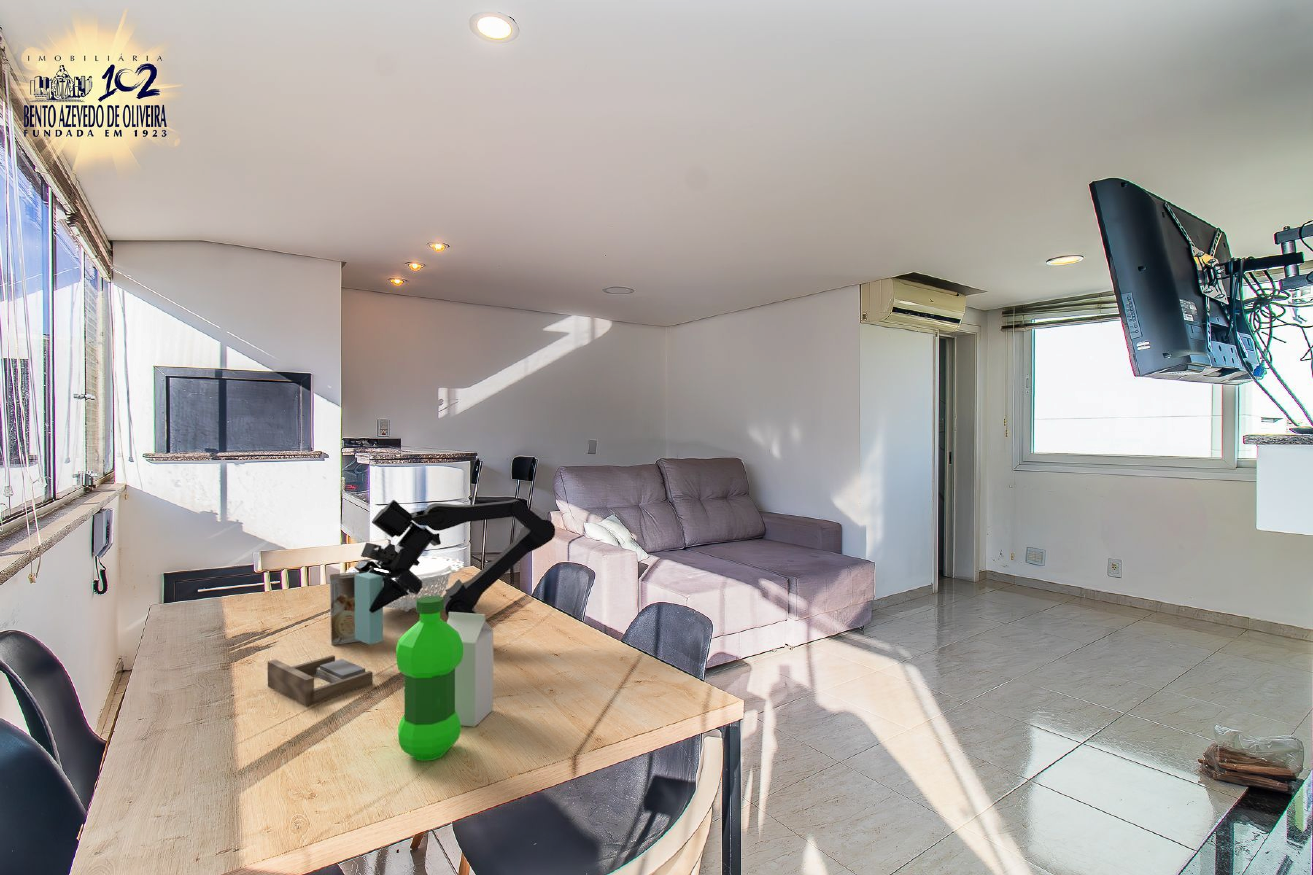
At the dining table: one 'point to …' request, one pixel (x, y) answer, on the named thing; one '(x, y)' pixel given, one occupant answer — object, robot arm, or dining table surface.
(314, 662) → the frame
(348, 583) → the coffee box
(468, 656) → the milk carton
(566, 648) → the dining table surface
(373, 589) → the teal rectangular block
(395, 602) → the colander
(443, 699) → the plastic bottle
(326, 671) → the offcut stack
